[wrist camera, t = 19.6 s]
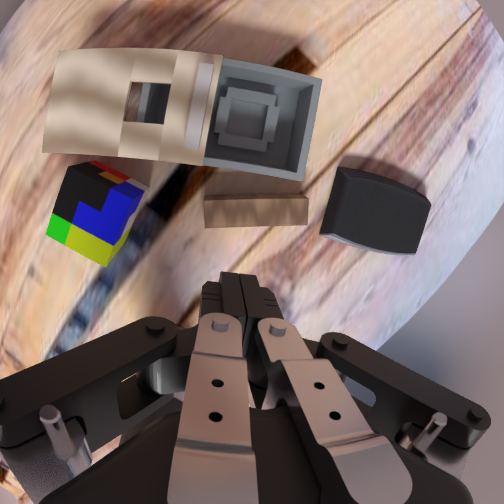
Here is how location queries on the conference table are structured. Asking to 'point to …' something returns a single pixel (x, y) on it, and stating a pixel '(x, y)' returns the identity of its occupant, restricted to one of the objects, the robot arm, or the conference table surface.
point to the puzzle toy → (95, 210)
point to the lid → (116, 101)
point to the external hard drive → (374, 213)
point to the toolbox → (252, 118)
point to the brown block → (255, 210)
